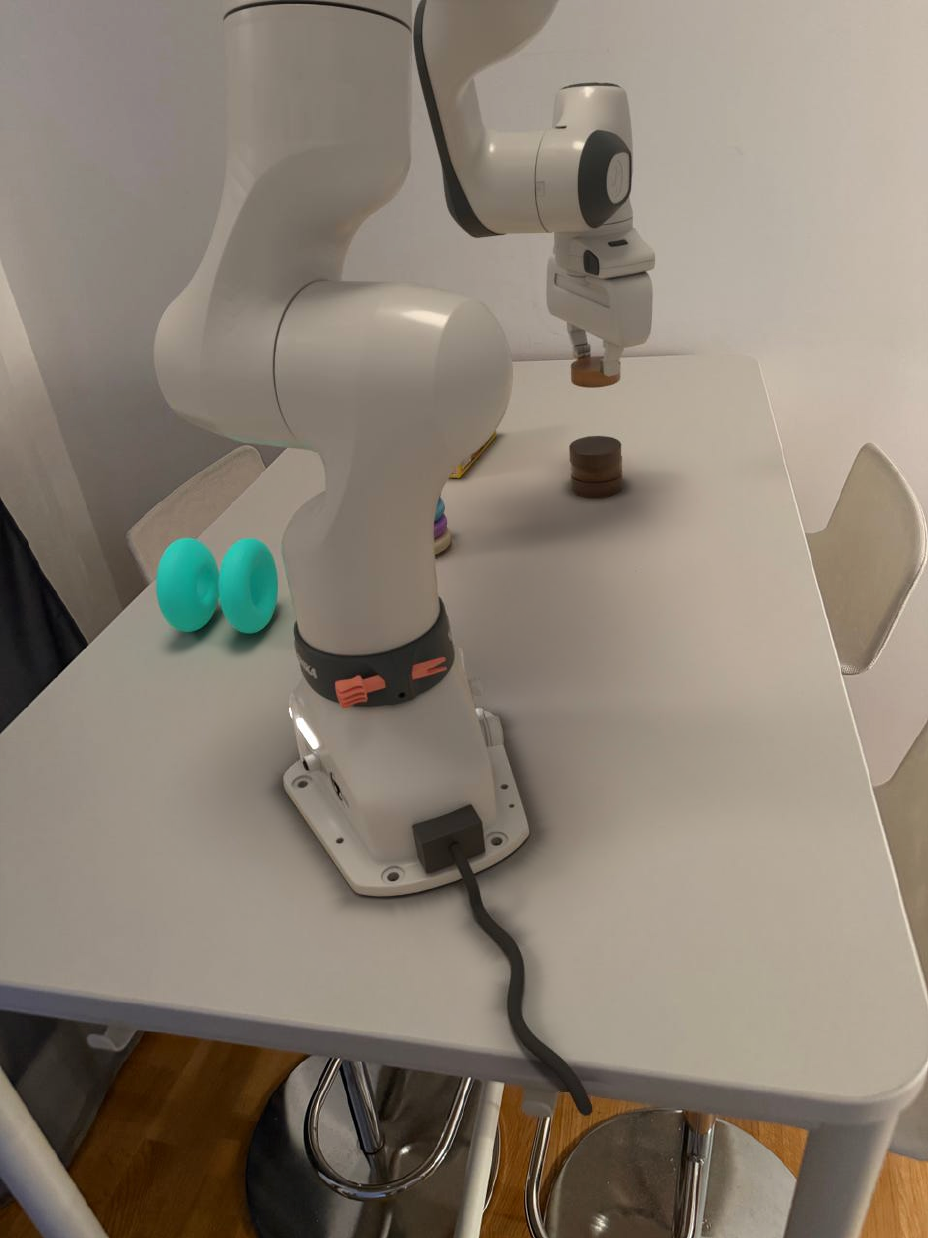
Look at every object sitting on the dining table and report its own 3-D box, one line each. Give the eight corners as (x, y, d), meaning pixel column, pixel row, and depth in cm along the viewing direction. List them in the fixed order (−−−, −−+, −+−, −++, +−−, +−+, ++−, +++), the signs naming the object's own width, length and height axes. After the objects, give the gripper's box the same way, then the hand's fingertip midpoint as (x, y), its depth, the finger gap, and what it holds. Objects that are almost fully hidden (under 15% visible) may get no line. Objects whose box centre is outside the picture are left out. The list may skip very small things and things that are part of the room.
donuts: (255, 652, 94) (234, 567, 89) (167, 649, 96) (140, 566, 91) (288, 601, 102) (270, 521, 97) (206, 600, 104) (184, 521, 99)
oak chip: (629, 381, 111) (629, 365, 110) (584, 391, 109) (584, 374, 108) (606, 368, 116) (605, 352, 115) (562, 377, 114) (562, 362, 113)
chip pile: (633, 490, 119) (633, 447, 116) (584, 503, 117) (583, 459, 114) (607, 472, 125) (607, 430, 121) (560, 483, 123) (559, 441, 120)
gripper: (531, 238, 112) (536, 351, 119) (610, 265, 95) (611, 394, 103) (577, 230, 113) (580, 342, 121) (664, 255, 97) (661, 383, 104)
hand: (595, 366), depth 112 cm, fingers closed on oak chip, 6 cm apart
